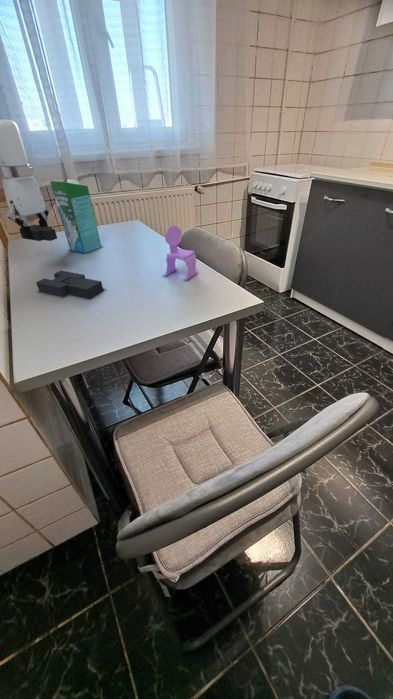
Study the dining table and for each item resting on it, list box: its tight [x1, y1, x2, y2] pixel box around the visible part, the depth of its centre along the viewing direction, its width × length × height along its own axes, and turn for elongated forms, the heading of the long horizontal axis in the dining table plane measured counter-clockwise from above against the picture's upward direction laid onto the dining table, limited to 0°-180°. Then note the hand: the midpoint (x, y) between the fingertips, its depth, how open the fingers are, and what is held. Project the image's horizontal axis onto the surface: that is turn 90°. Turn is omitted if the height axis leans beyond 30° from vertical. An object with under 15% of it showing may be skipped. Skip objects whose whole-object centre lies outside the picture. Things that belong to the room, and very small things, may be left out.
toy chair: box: [164, 225, 197, 281], centre depth 92 cm, size 8×9×15 cm
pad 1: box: [18, 224, 58, 242], centre depth 96 cm, size 11×6×3 cm, turn 65°
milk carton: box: [49, 179, 102, 254], centre depth 114 cm, size 9×9×25 cm
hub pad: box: [35, 269, 86, 298], centre depth 91 cm, size 10×10×3 cm
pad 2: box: [63, 277, 104, 300], centre depth 88 cm, size 11×6×3 cm, turn 65°
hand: (37, 235), depth 97 cm, fingers closed on pad 1, 6 cm apart
